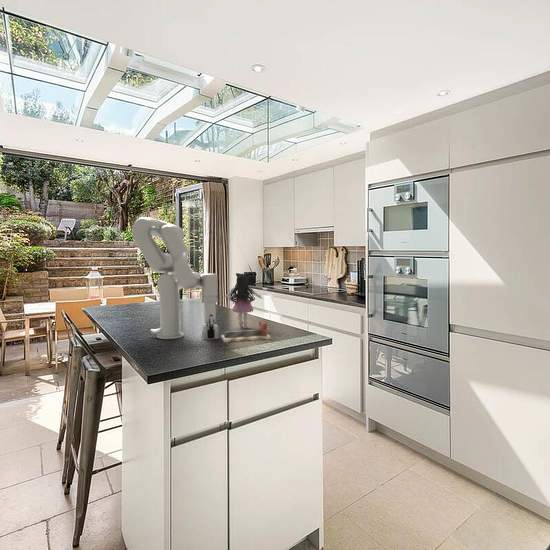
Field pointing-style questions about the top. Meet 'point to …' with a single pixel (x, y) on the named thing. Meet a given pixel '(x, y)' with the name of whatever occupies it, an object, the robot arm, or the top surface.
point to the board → (247, 334)
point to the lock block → (205, 332)
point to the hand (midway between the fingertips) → (210, 336)
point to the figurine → (242, 297)
